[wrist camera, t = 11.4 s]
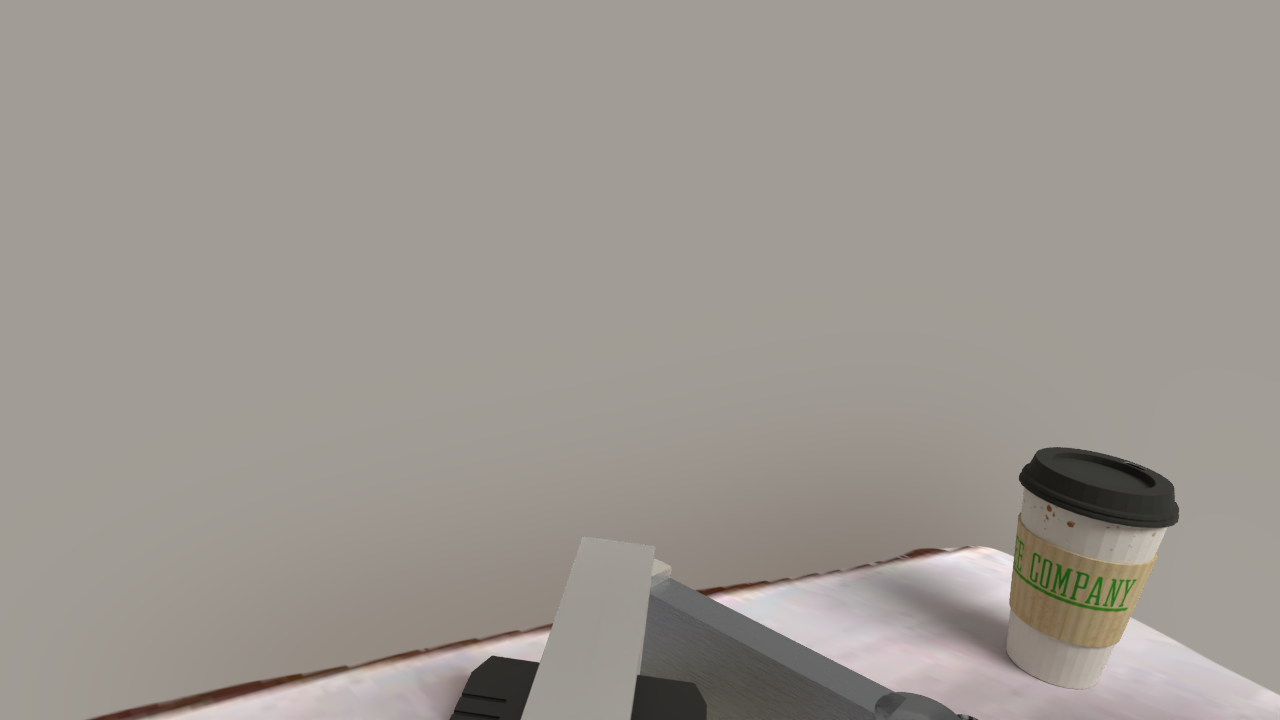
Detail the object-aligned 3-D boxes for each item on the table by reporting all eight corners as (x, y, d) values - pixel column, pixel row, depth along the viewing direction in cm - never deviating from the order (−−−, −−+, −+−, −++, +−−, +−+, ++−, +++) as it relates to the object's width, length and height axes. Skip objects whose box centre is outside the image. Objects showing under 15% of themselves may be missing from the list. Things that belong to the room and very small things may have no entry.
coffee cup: (951, 635, 62) (994, 448, 59) (1039, 615, 67) (1085, 440, 63) (1065, 719, 54) (1124, 506, 50) (1158, 690, 58) (1219, 493, 55)
